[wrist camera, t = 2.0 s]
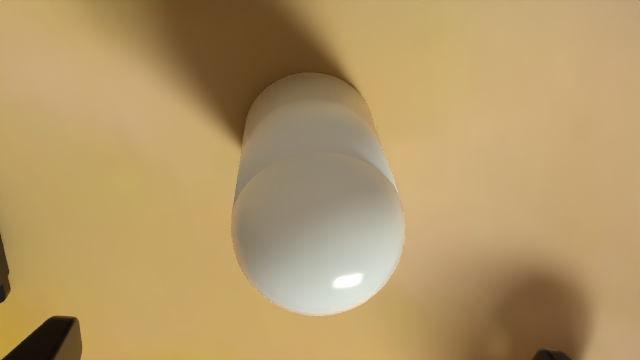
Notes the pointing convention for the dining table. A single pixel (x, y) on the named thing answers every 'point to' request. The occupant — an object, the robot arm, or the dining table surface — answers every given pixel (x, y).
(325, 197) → the glossy white capsule
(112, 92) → the dining table surface
